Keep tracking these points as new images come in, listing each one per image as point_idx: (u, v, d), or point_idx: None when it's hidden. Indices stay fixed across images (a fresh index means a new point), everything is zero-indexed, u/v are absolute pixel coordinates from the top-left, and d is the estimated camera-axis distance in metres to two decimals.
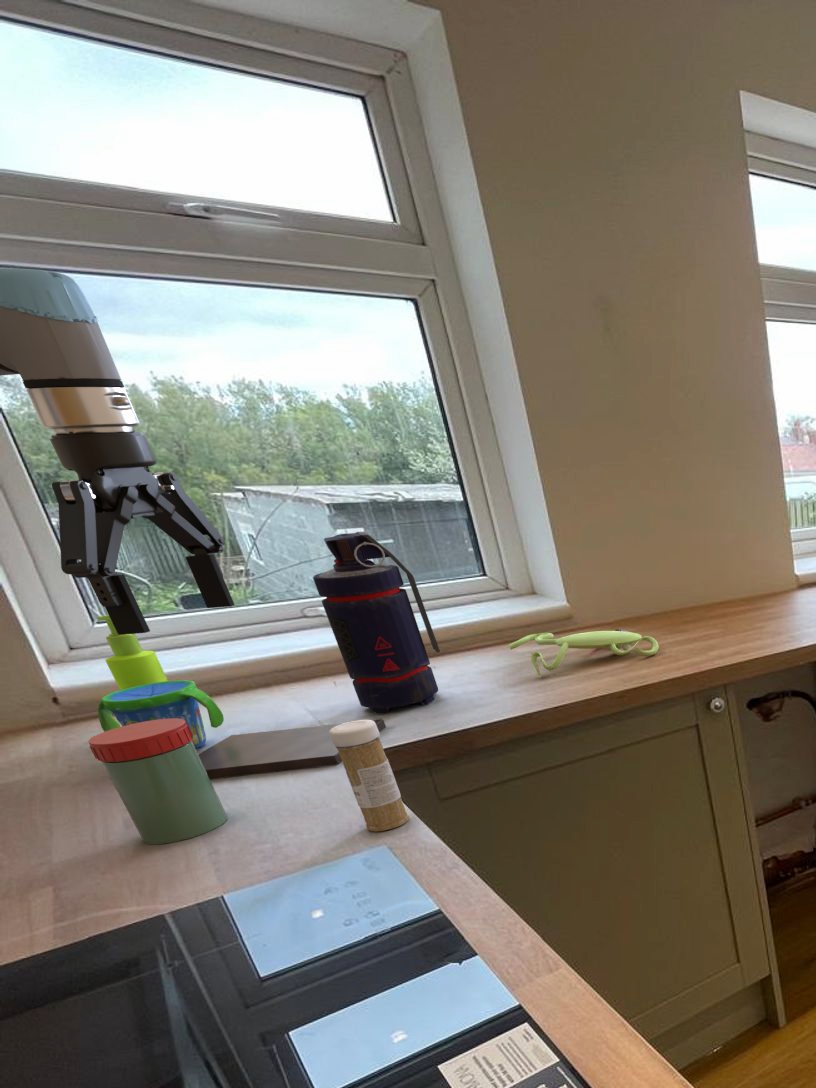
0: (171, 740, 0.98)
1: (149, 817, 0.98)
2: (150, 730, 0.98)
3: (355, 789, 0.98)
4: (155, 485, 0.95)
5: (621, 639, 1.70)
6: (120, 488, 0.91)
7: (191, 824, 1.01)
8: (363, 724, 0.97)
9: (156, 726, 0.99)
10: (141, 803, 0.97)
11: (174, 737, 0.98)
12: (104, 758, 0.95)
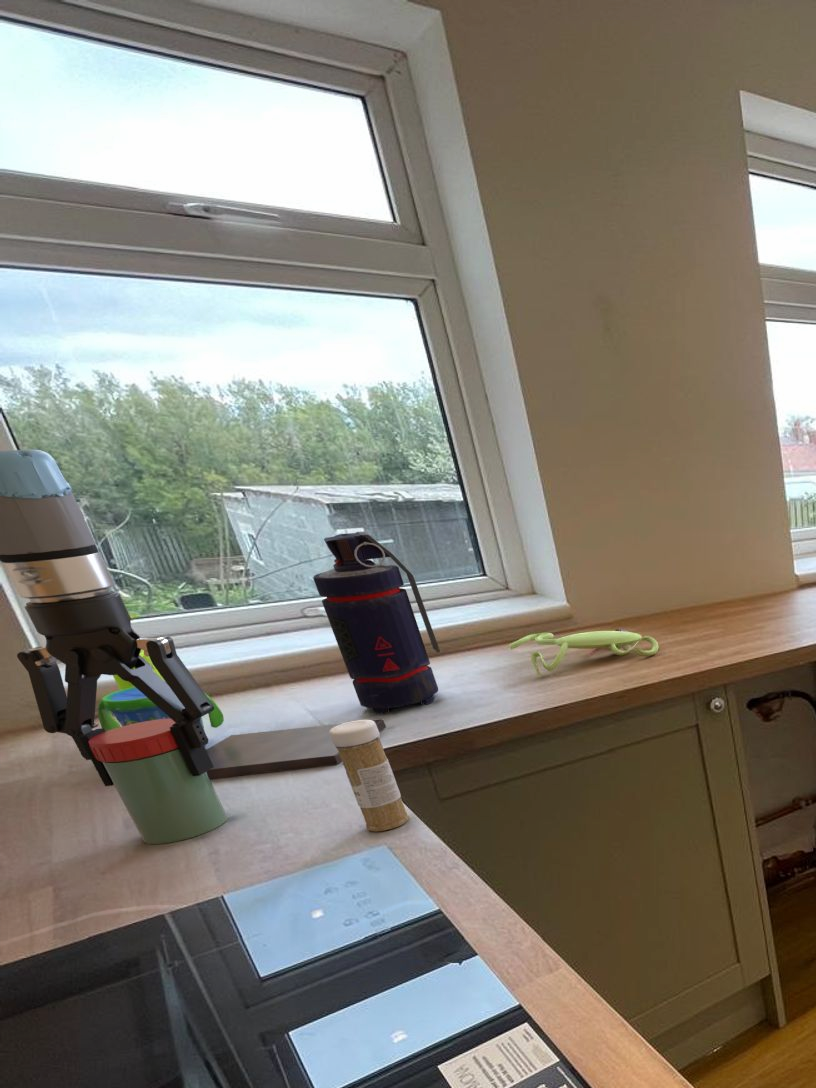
0: (171, 740, 0.98)
1: (149, 817, 0.98)
2: (150, 730, 0.98)
3: (355, 789, 0.98)
4: (122, 646, 0.94)
5: (621, 639, 1.70)
6: (68, 648, 0.92)
7: (191, 824, 1.01)
8: (363, 724, 0.97)
9: (156, 726, 0.99)
10: (141, 803, 0.97)
11: None
12: (104, 758, 0.95)
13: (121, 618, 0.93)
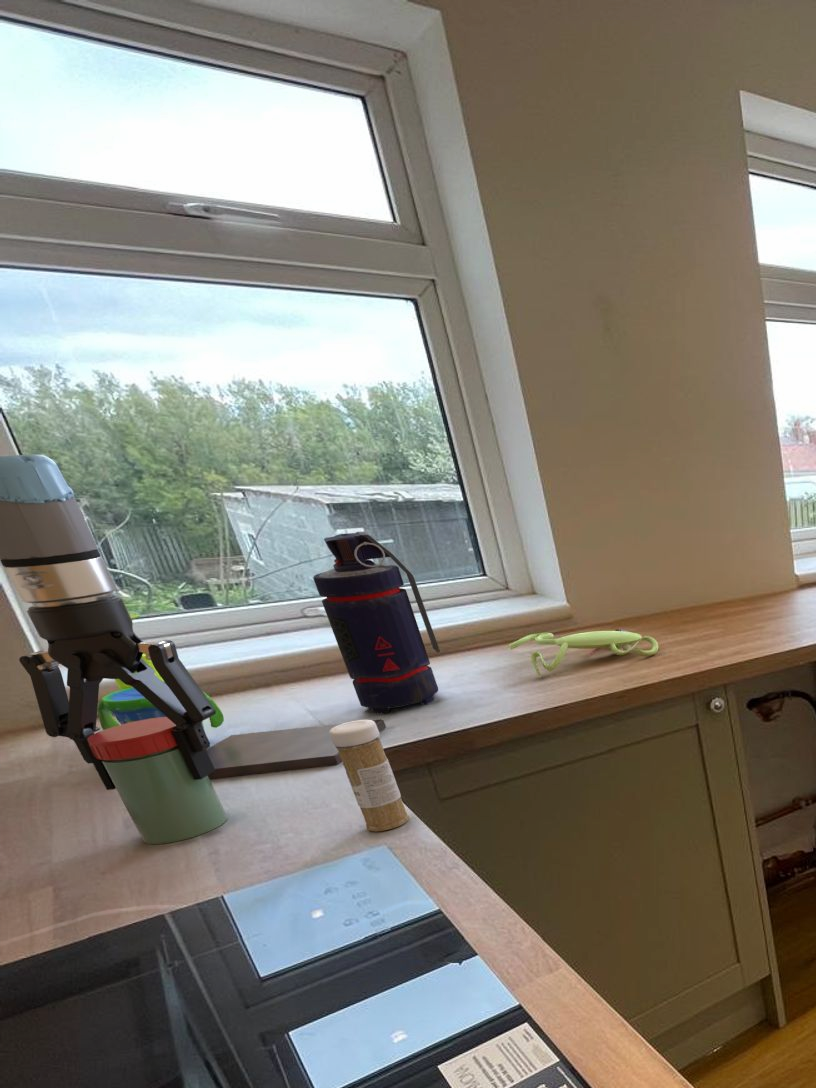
0: None
1: (149, 817, 0.98)
2: (151, 724, 0.99)
3: (355, 789, 0.98)
4: (124, 650, 0.94)
5: (621, 639, 1.70)
6: (70, 652, 0.92)
7: (191, 824, 1.01)
8: (363, 724, 0.97)
9: (135, 726, 0.99)
10: (141, 803, 0.97)
11: None
12: (169, 744, 0.98)
13: (123, 622, 0.94)
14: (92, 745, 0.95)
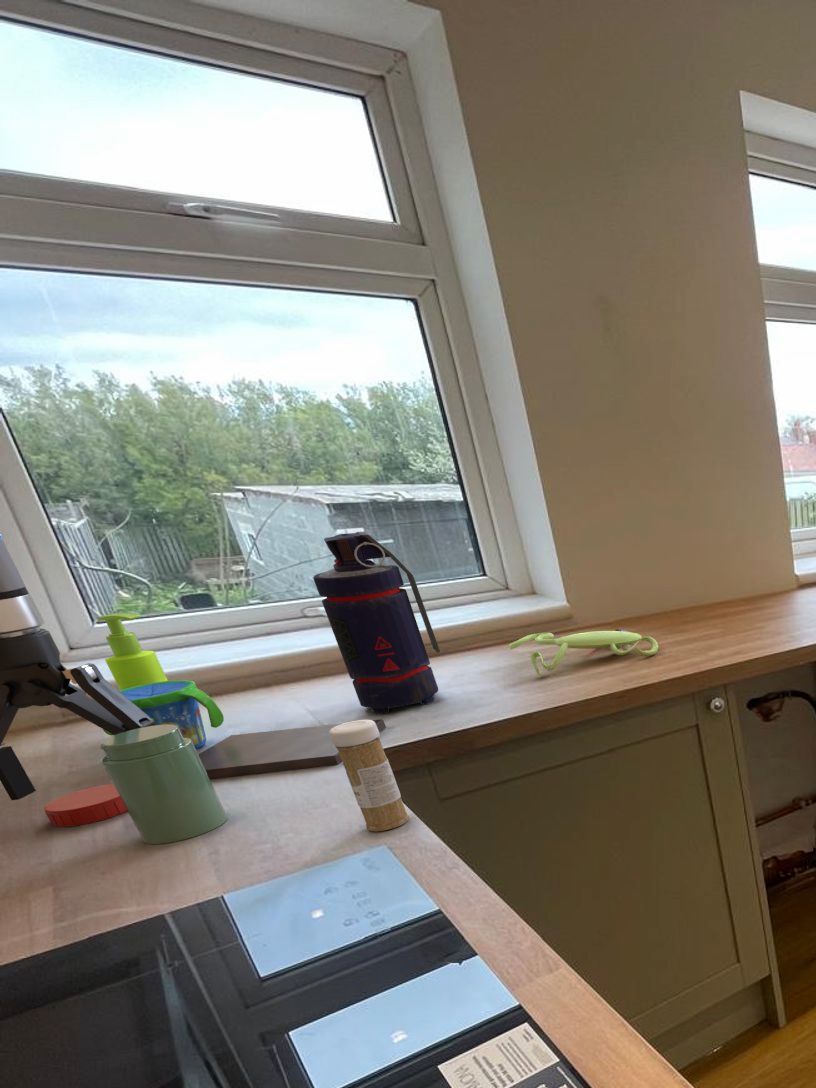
0: None
1: (149, 817, 0.98)
2: (103, 791, 1.10)
3: (355, 789, 0.98)
4: (51, 680, 1.02)
5: (621, 639, 1.70)
6: None
7: (191, 824, 1.01)
8: (363, 724, 0.97)
9: (89, 793, 1.09)
10: (141, 803, 0.97)
11: None
12: (119, 810, 1.08)
13: (50, 654, 1.01)
14: (48, 813, 1.05)
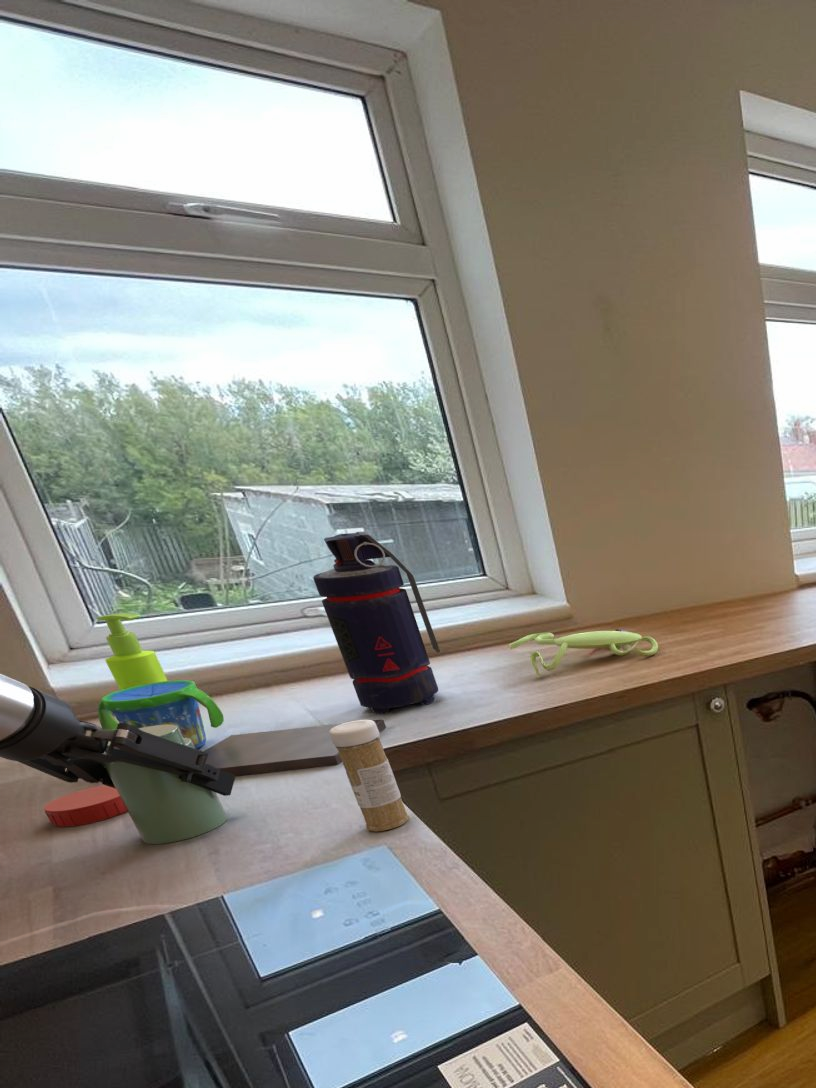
0: None
1: (149, 817, 0.98)
2: (103, 791, 1.10)
3: (355, 789, 0.98)
4: (88, 745, 0.89)
5: (621, 639, 1.70)
6: None
7: (191, 824, 1.01)
8: (363, 724, 0.97)
9: (89, 793, 1.09)
10: (141, 803, 0.97)
11: None
12: (119, 810, 1.08)
13: (67, 725, 0.87)
14: (48, 813, 1.05)
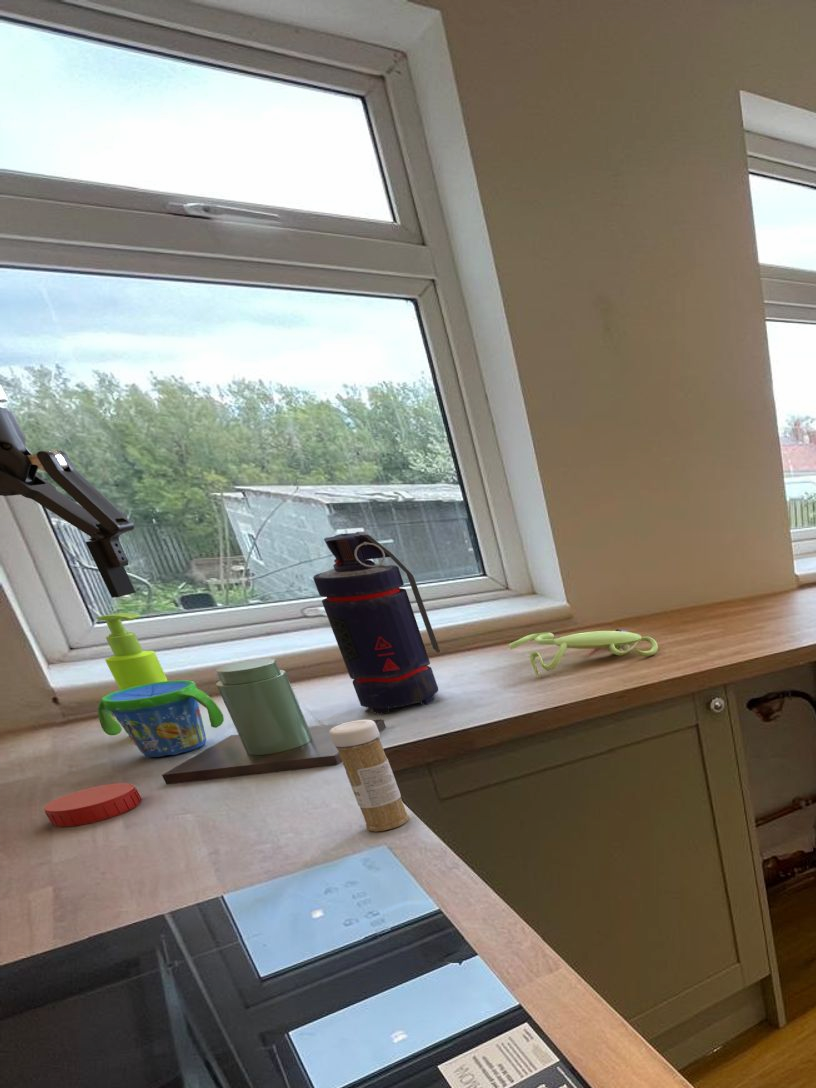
0: None
1: (254, 732, 1.21)
2: (103, 791, 1.10)
3: (355, 789, 0.98)
4: (15, 464, 0.90)
5: (621, 640, 1.70)
6: None
7: (286, 739, 1.23)
8: (363, 724, 0.97)
9: (89, 793, 1.09)
10: (247, 720, 1.20)
11: None
12: (119, 810, 1.08)
13: (13, 434, 0.90)
14: (48, 813, 1.05)
